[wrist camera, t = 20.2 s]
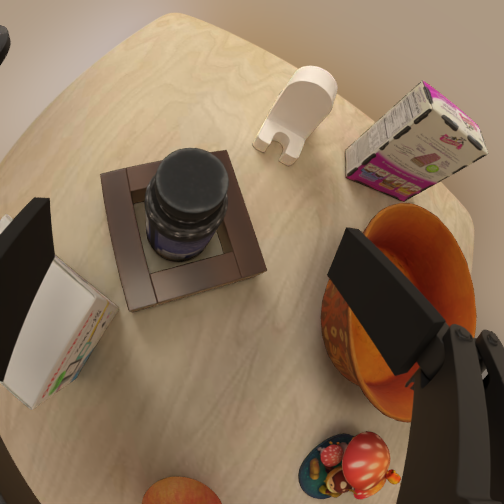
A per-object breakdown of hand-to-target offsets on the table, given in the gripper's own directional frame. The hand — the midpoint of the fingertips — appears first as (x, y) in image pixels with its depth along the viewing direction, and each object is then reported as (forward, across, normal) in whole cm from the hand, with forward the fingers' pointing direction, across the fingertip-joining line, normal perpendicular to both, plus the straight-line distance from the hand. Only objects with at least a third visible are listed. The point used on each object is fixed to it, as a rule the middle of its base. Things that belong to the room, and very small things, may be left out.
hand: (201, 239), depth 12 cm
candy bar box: (+23, +26, 0) cm, 35 cm away
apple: (-4, 0, -26) cm, 27 cm away
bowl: (+9, +22, -14) cm, 27 cm away
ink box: (+9, -11, -14) cm, 20 cm away
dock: (+15, 0, -8) cm, 17 cm away
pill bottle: (+15, 0, -8) cm, 17 cm away
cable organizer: (+25, +12, +3) cm, 28 cm away
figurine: (-4, +18, -26) cm, 32 cm away
